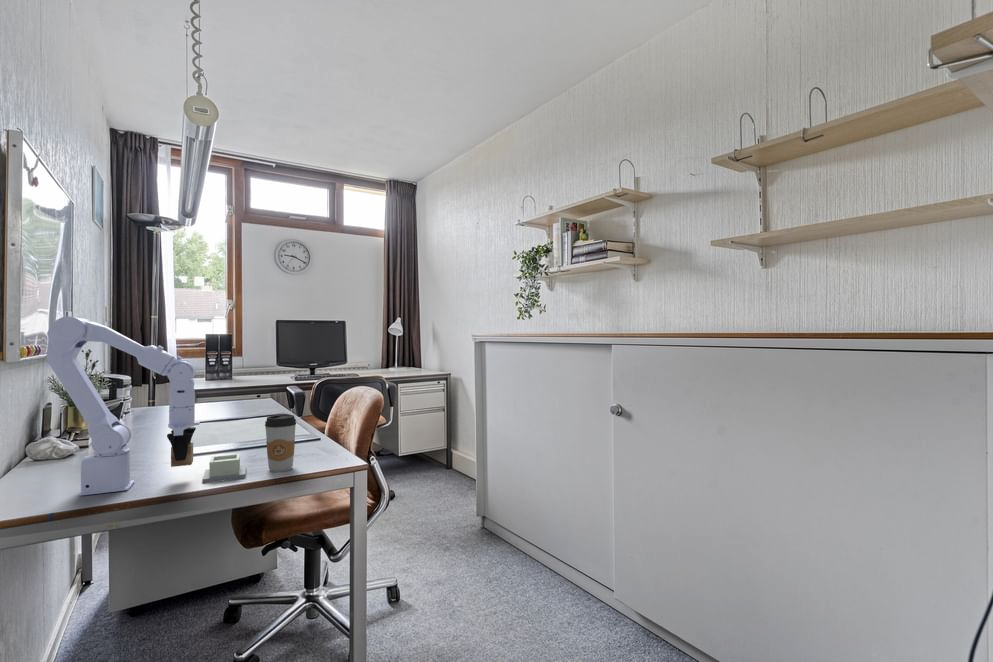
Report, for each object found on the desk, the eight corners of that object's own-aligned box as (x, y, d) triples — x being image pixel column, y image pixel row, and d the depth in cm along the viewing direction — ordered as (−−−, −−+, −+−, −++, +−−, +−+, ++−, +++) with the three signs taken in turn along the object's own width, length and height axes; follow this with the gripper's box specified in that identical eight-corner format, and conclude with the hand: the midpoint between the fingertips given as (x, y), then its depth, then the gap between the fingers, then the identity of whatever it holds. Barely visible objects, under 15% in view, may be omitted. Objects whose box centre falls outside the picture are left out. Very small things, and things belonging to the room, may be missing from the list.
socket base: (202, 483, 129) (202, 464, 129) (205, 473, 138) (205, 456, 138) (245, 477, 133) (245, 460, 133) (245, 468, 142) (245, 452, 142)
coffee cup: (262, 474, 137) (262, 420, 137) (267, 466, 145) (267, 415, 145) (294, 471, 139) (294, 418, 139) (298, 464, 147) (298, 413, 147)
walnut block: (170, 466, 128) (171, 447, 128) (173, 462, 132) (173, 444, 132) (191, 464, 130) (191, 445, 130) (193, 461, 134) (193, 442, 134)
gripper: (196, 409, 126) (196, 462, 126) (202, 402, 139) (201, 450, 139) (163, 411, 123) (163, 465, 123) (172, 403, 136) (172, 453, 136)
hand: (181, 457), depth 131 cm, fingers closed on walnut block, 4 cm apart
